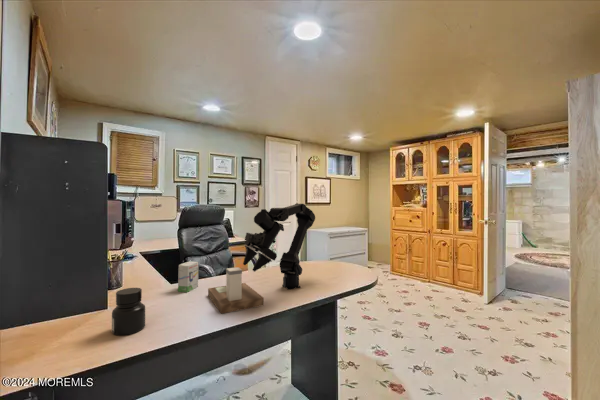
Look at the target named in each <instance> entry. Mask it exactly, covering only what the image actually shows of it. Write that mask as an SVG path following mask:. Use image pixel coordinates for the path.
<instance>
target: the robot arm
mask: <svg viewBox="0 0 600 400" xmlns="http://www.w3.org/2000/svg"><path fill="white" fill-rule="evenodd" d="M293 215H294V216H295V217H296V222H297V228H296V231H295V234H294V236H293V238H292V241H291V243H290V247H289V249H288V251H287V252H282V255H281V258H280V260H279V261H280V262H279V269H280V273H281V274H283V277H282V285H281V286H282V287H283V288H285V289H286V290H293V289H294V290H295V289H300V288H301V285H300V276H301V275H302V273H303V268H302V266H301V265H300V257H299V256H300V255H299V254H300V252H301V249H302V246H303V243H304V240H305V237H306V234H307V231H308V230H309V229H310V228H311V227H312V226H313V224H314V222H315V220H316V215H315V213H314V211H313V210H312V209H310V208H309V207H307V205H306V204H305V203H295V204H293V205H288V206H285V207H271V208H269V211H268V210H267V209H263V208H262V209H261V210H260V211H259V212H257V213H256V214H255V216H254V217H253V222H254V223H255V224H256V225H257V226H258V227H260V228H261V230H263V231H262V232H259V233H257V232H255V233H253V232H246V233H245V237H244V243H243V244H244V248H245V250H246V251H245V255H244V259H243V262H242V265H244V266H246V265H248V263H250V262H251V261H252V260H253V259H254V258H255V257H256V256H257V255H258V258H257V259H256V262H255V264H254V265H253V268H252V271H253V272H256V271H258V270H260V269H261V268H262V267H264V266H265V265H267V264H269V263H272V262H273V261H275V260H276V259H277V257H278V255H277V253H276V252H274V250H272V249H271V246H272V245H273V244H276V238H277V236H278V235H279V233H280V231H282V232H284V231H285V228H284V224H283V223H281V222H285V221H287V220H288V219H289V217H291V216H293Z"/></svg>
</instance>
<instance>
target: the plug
mask: <svg viewBox="0 0 600 400" xmlns="http://www.w3.org/2000/svg"><path fill="white" fill-rule="evenodd" d="M225 272H226V273H225V274H226V283H225V286H226V298H227V299H228V301H234V300H239V299H242V283H243V282H242V281H243V280H242V274H243V270H242V269H241V268H240V267H238V266H237V267H229V268H228V267H227V268H226V269H225Z"/></svg>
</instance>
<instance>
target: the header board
mask: <svg viewBox="0 0 600 400" xmlns="http://www.w3.org/2000/svg"><path fill="white" fill-rule="evenodd" d="M207 295H208V297H209V299H210V300H211V301H212V303H213V304H214V305H215V307H216V309H217V310H218V311H219V312H220V315H221V314H222V315H223V314H226V313H231V312H236V311H237V312H238V311H243V310H247V309H248V310H249V309H251V308H252V309H253V308H257V307H263V306H264V297H263V296H262V295H261V294H260V293H258V292H257V291H256V290H255V289H254V288H252V287H251V286H250V285H249V284H247V283H246V282H242V299H239V300H234V301H228V299H227V298H226V285H222V286H216V287H208V288H207Z"/></svg>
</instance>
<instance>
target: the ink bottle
mask: <svg viewBox="0 0 600 400" xmlns="http://www.w3.org/2000/svg"><path fill="white" fill-rule="evenodd" d="M142 293H143V292H142V288H141V287H128V288H122V289H120V290H117V291H116V292H115V304H116V306H115V308H114V309H113V310H112V312H111V333H112V335H116V336H126V335H127V336H128V335H132V334H135V333H137V332H140V331H141V330H144V328H145V327H146V305H145V304H144V303H142V297H143V296H142Z"/></svg>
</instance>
